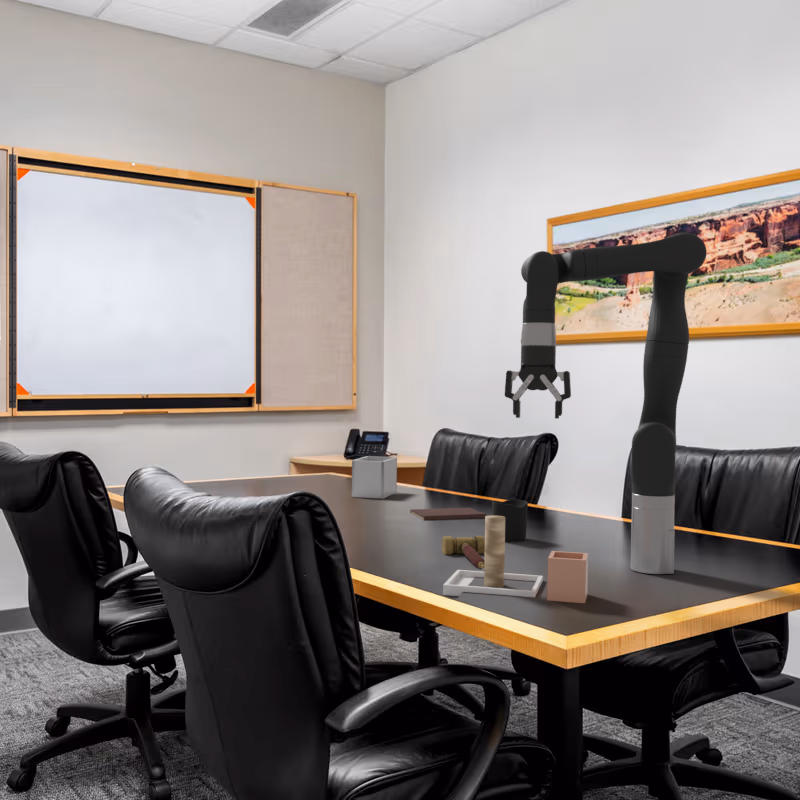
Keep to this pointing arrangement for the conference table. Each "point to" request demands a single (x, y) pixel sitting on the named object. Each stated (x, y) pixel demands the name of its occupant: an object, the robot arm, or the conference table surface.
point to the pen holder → (512, 518)
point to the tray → (464, 578)
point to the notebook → (447, 513)
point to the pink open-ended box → (567, 576)
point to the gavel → (466, 548)
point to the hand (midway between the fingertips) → (537, 418)
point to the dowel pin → (494, 551)
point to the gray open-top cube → (374, 477)
